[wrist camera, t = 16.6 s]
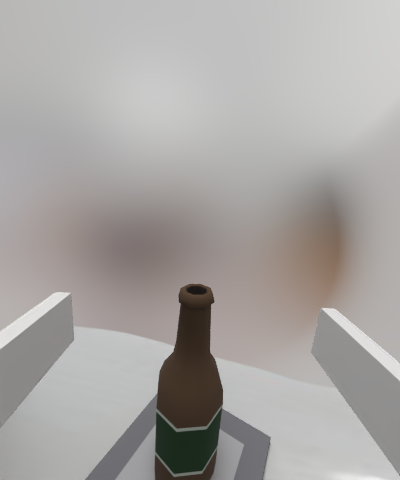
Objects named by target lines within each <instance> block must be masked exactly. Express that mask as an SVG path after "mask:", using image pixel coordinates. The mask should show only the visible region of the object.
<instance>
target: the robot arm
mask: <svg viewBox="0 0 400 480" xmlns="http://www.w3.org/2000/svg"><path fill="white" fill-rule="evenodd" d="M73 340H74V330H73V315H72V300H71V293H62V292H56V293H54V294H53V295H51V296H50V297H48V298H47V299H45V300H44V301H43V302H41V303H40V304H38V305H37V306H36V307H34V308H33V309H31V310H30V311H29V312H27V313H26V314H24V315H23V316H21V317H20V318H19V319H17V320H16V321H14V322H13V323H12V324H10V325H9V326H7V327H6V328H4V329H3V330H1V331H0V428H1V427H2V425H3V424H4V423H5V422H6V421H7V419H8V418H9V417H10V416H11V415H12V413H13V412H14V411H15V410H16V409H17V407H18V406H19V405H20V404H21V403H22V401H23V400H24V399H25V398H26V397H27V395H28V394H29V393H30V392H31V391H32V389H33V388H34V387H35V386H36V385H37V383H38V382H39V381H40V380H41V379H42V378H43V376H44V375H45V374H46V373H47V372H48V370H49V369H50V368H51V367H52V366H53V364H54V363H55V362H56V361H57V360H58V358H59V357H60V356H61V355H62V354H63V352H64V351H65V350H66V349H67V348H68V346H69V345H70V344H71V343H72V342H73ZM311 353H312V354H313V356H314V357H315V358H316V360H317V361H318V362H319V364H320V365H321V367H322V368H323V369H324V371H325V372H326V374H327V375H328V376H329V378H330V379H331V380H332V382H333V383H334V385H335V386H336V388H337V389H338V390H339V392H340V393H341V395H342V396H343V397H344V399H345V400H346V401H347V403H348V404H349V406H350V407H351V408H352V410H353V411H354V413H355V414H356V415H357V417H358V418H359V420H360V421H361V422H362V424H363V425H364V426H365V428H366V429H367V431H368V432H369V433H370V435H371V436H372V438H373V439H374V440H375V442H376V443H377V445H378V446H379V447H380V449H381V450H382V452H383V453H384V454H385V456H386V457H387V458H388V460H389V461H390V463H391V464H392V465H393V467H394V468H395V470H396V471H397V472H398V474H399V475H400V363H399V362H398V361H396V360H395V359H394V358H393V357H392V356H391V355H389V354H388V353H387V352H386V351H384V350H383V349H382V348H381V347H380V346H379V345H377V344H376V343H375V342H374V341H373V340H371V339H370V338H369V337H368V336H367V335H365V334H364V333H363V332H362V331H361V330H360V329H358V328H357V327H356V326H355V325H354V324H352V323H351V322H350V321H349V320H348V319H346V318H345V317H344V316H343V315H342V314H340V313H339V312H338V311H337V310H336V309H328V308H321V310H320V314H319V319H318V323H317V328H316V332H315V337H314V341H313V346H312V350H311Z"/></svg>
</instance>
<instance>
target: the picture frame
mask: <svg viewBox="0 0 400 480" xmlns="http://www.w3.org/2000/svg"><path fill="white" fill-rule="evenodd" d="M157 394H158V393H157ZM156 407H157V395H156V396H155V397H154V398H153V399H152V400H151V402H150V403H149V404H148V405H147V406H146V408H145V409H144V410H143V411H142V412H141V414H140V415H139V416H138V417H137V418H136V420H135V421H134V422H133V423H132V424H131V426H130V427H129V428H128V429H127V430H126V432H125V433H124V434H123V435H122V436H121V437H120V439H119V440H118V441H117V442H116V443H115V445H114V446H113V447H112V448H111V449H110V451H109V452H108V453H107V454H106V455H105V457H104V458H103V459H102V460H101V461H100V463H99V464H98V465H97V466H96V467H95V468H94V470H93V471H92V472H91V473H90V474H89V476H88V477H87V478H86V479H85V480H155V438H156ZM270 438H271V437H269V436H268V435H266V434H264V433H262V432H261V431H259V430H257V429H256V428H254V427H252V426H251V425H249V424H247V423H246V422H244V421H242V420H240V419H239V418H237V417H235V416H234V415H232V414H230V413H229V412H227V411H225V410H224V409H222V414H221V422H220V430H219V439H218V447H217V456H216V464H215V469H214V473H213V475H212V477H211V479H210V480H262V478H263V473H264V468H265V463H266V458H267V453H268V448H269V443H270Z"/></svg>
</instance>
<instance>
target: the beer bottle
mask: <svg viewBox="0 0 400 480" xmlns="http://www.w3.org/2000/svg"><path fill="white" fill-rule="evenodd" d="M179 303H181V306H180V315H179V323H178V331H177V340H176V344H175V348H174V352H173V353H172V354H171V355H170V356H169V357H168V358H167V359H166V360H165V361H164V363H163V365H162V368H161V370H160V374H159V382H158V394H157V407H156V438H155V480H210V479H211V477H212V475H213V473H214V469H215V464H216V456H217V447H218V439H219V430H220V422H221V414H222V405H223V388H222V384H221V380H220V376H219V372H218V368H217V365H216V361H215V359H214V357H213V356H212V355H211V353H210V323H211V321H210V320H211V304H212V303H214V297H213V293H212V291H211V288H209V287H207V286H204V285H201V284H189V285H186V286H184V287H182V288H181V290H180V293H179Z"/></svg>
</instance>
